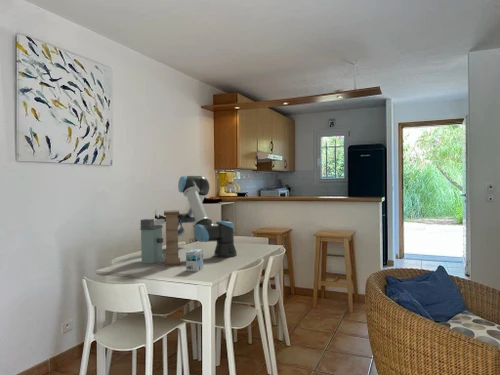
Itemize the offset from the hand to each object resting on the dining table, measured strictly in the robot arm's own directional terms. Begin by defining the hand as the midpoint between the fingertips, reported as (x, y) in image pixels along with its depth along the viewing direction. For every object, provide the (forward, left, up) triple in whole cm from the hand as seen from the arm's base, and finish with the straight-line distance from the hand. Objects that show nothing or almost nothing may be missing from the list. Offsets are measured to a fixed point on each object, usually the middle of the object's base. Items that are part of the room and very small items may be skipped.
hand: (164, 211), depth 260 cm
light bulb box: (-35, +45, -30) cm, 65 cm away
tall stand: (-16, +29, -30) cm, 45 cm away
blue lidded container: (-2, +23, -30) cm, 38 cm away
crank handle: (0, +18, -8) cm, 20 cm away
